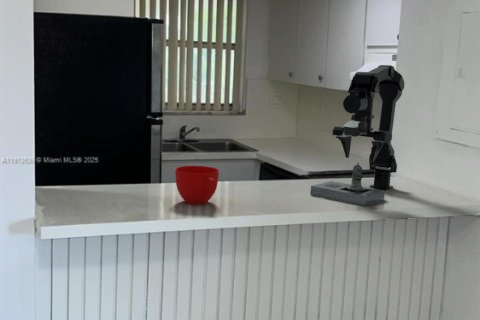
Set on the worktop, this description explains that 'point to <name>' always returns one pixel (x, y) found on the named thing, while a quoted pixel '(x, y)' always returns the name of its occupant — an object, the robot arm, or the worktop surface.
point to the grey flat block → (346, 193)
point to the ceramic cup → (196, 183)
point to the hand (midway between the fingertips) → (359, 159)
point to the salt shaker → (356, 180)
